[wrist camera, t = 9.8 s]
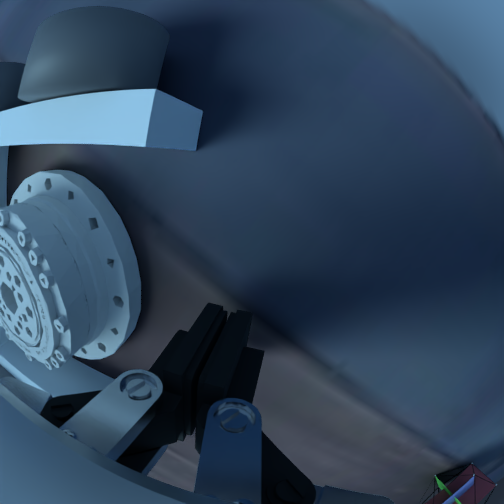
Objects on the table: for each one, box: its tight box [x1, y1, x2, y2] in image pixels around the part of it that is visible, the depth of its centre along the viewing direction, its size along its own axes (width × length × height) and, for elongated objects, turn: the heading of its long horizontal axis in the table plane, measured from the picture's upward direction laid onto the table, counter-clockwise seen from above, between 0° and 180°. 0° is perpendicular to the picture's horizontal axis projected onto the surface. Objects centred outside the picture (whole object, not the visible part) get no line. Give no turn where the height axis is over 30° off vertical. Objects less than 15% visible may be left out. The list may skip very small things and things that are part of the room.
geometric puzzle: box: [422, 463, 497, 504], centre depth 10 cm, size 7×7×8 cm
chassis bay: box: [0, 6, 203, 397], centre depth 10 cm, size 21×14×5 cm
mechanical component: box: [0, 170, 141, 370], centre depth 10 cm, size 10×4×10 cm
